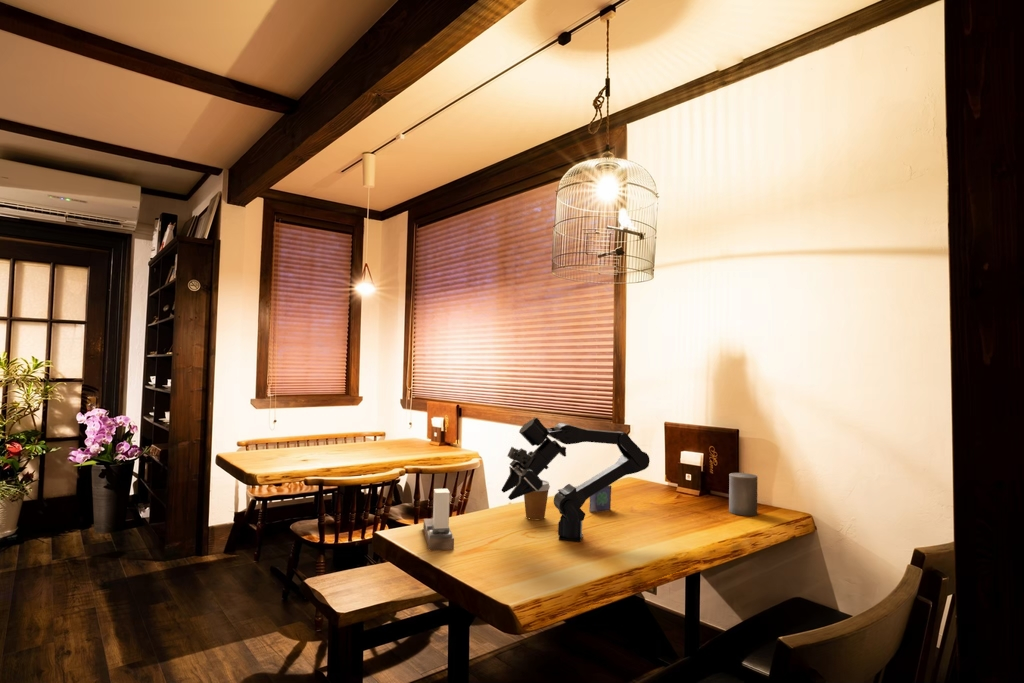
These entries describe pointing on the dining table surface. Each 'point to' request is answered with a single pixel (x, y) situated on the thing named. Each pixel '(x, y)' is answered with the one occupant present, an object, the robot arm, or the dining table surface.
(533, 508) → the disposable coffee cup
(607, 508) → the flask
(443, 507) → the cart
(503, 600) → the dining table surface
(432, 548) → the dock
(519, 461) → the robot arm
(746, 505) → the pillar candle
